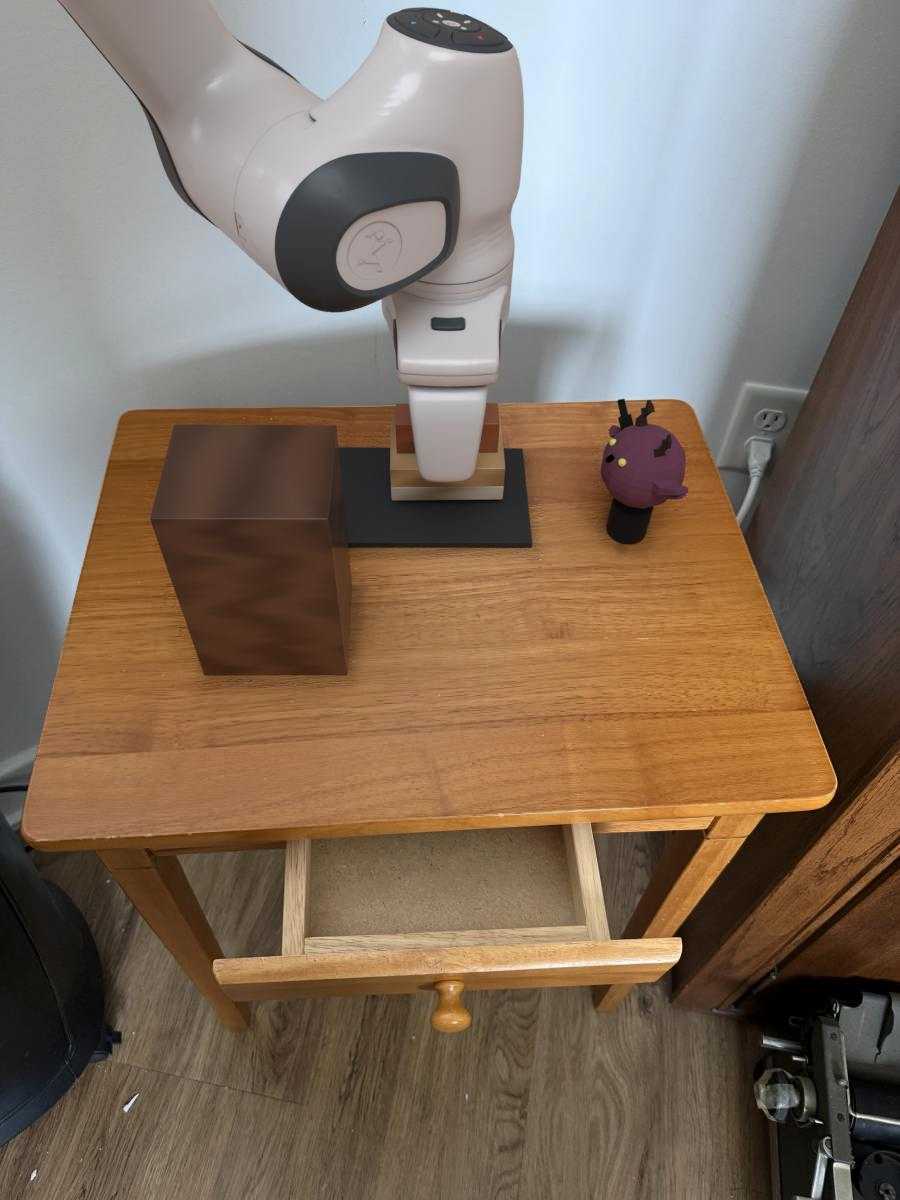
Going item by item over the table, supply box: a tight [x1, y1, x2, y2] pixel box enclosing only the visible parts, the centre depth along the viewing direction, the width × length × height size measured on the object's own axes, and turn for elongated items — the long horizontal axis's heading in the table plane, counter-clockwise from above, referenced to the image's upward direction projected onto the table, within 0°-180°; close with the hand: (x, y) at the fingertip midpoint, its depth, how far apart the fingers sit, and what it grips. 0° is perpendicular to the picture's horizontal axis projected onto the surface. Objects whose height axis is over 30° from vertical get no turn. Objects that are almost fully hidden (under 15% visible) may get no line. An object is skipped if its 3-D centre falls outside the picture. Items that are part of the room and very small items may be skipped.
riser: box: [149, 423, 353, 676], centre depth 59 cm, size 10×8×16 cm
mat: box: [339, 446, 533, 549], centre depth 73 cm, size 20×11×1 cm, turn 91°
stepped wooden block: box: [389, 402, 505, 500], centre depth 71 cm, size 9×6×6 cm, turn 91°
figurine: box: [600, 398, 689, 545], centre depth 67 cm, size 8×8×12 cm
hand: (443, 441), depth 71 cm, fingers closed on stepped wooden block, 2 cm apart
